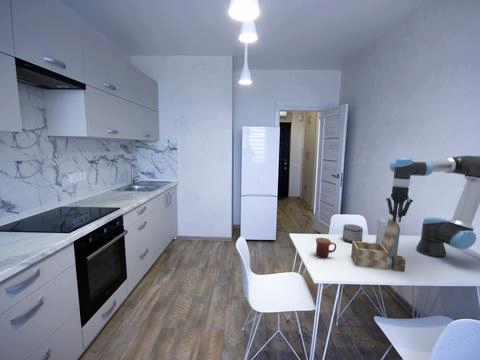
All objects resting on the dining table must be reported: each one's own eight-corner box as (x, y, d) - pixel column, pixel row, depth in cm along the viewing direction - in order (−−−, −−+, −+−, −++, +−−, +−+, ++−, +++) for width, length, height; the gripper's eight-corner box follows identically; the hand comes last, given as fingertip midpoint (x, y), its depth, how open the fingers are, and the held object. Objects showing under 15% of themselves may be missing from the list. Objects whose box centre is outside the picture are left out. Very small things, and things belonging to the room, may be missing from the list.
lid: (381, 243, 142) (383, 243, 141) (388, 251, 130) (391, 252, 130) (389, 218, 139) (391, 218, 138) (397, 224, 127) (399, 225, 127)
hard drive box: (397, 258, 145) (401, 227, 142) (383, 257, 146) (387, 226, 143) (387, 248, 160) (390, 219, 157) (374, 247, 161) (377, 218, 158)
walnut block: (400, 267, 134) (401, 256, 133) (404, 272, 129) (405, 260, 128) (390, 266, 135) (392, 254, 134) (394, 270, 130) (395, 258, 129)
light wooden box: (379, 259, 143) (381, 243, 142) (386, 269, 132) (388, 252, 130) (351, 256, 147) (352, 240, 145) (355, 265, 135) (357, 248, 134)
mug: (313, 257, 144) (314, 241, 143) (315, 251, 152) (316, 236, 151) (334, 261, 139) (336, 245, 138) (335, 255, 147) (336, 239, 146)
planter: (359, 238, 176) (360, 225, 175) (363, 245, 164) (365, 230, 162) (341, 236, 179) (342, 223, 177) (344, 243, 167) (345, 229, 165)
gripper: (410, 185, 132) (405, 226, 135) (385, 184, 135) (380, 224, 138) (417, 188, 125) (411, 230, 128) (390, 186, 127) (385, 228, 131)
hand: (395, 227), depth 133 cm, fingers closed
